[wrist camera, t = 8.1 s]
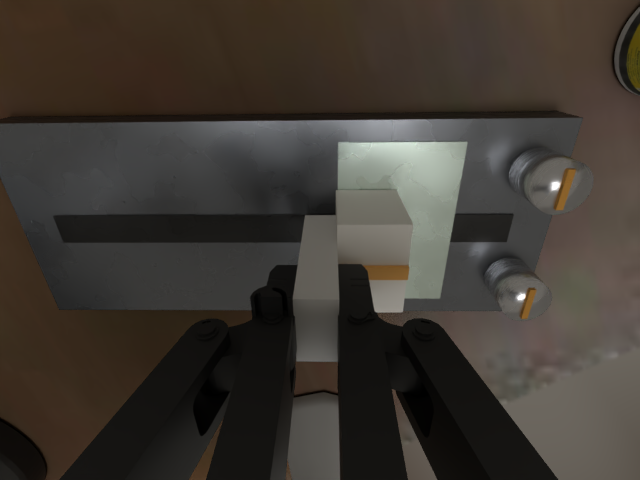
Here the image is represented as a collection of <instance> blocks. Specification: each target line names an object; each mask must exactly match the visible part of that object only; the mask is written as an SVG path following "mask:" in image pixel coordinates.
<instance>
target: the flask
mask: <svg viewBox="0 0 640 480" xmlns="http://www.w3.org/2000/svg"><path fill="white" fill-rule="evenodd" d="M287 459H288V463H289V467H290V472H291V477H292V480H340V453H339V408H338V396H337V395H333V394H329V393H325V392H321V393H316V394H311V395H306V396H301V397H296V398H293V408H292V418H291V428H290V438H289V447H288V457H287Z"/></svg>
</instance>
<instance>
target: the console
mask: <svg viewBox="0 0 640 480" xmlns="http://www.w3.org/2000/svg"><path fill="white" fill-rule="evenodd" d="M582 119H583V118H582V117H578V116H575V115H571V114H567V113H563V112H559V111H522V112H428V113H335V114H241V115H148V116H54V117H7V118H3V119H0V178H1V180H2V182H3V185H4V187H5V189H6V191H7V194H8V196H9V198H10V200H11V203H12V205H13V207H14V209H15V212H16V214H17V216H18V218H19V221H20V223H21V225H22V227H23V230H24V232H25V234H26V236H27V238H28V241H29V243H30V245H31V247H32V250H33V252H34V254H35V256H36V259H37V261H38V263H39V265H40V268H41V270H42V272H43V274H44V277H45V279H46V281H47V283H48V286H49V288H50V290H51V292H52V295H53V297H54V299H55V301H56V303H57V306H58V308H59V310H252V309H251V301H250V296H251V295H252V293H253V292H254V291H255V290H257V289H258V288H261V287H264V286H266V285H267V281H268V277H269V274H270V271H271V270H272V269H273V268H274V267H275V266H276V265H298V260H299V253H300V246H301V240H302V233H303V226H304V220H305V215H336V190H397V192H398V194H399V196H400V198H401V200H402V202H403V204H404V206H405V208H406V210H407V213H408V215H409V217H410V219H411V221H412V223H413V232H412V240H411V248H410V257H409V265H408V266H409V275H408V280H407V282H406V290H405V298H404V307H403V311H503V312H504V314H505V315H506V316H507V317H508V318H510V319H512V320H516V321H526V320H531V319H534V318H536V317H538V316H540V315H541V314H543V313H544V312H545V311H546V310H547V309H548V307H549V306H550V304H551V301H552V293H551V291H550V290H549V288H548V287H547V286H546V285H545V284H544V283H543V282H542V281H541V280H540V279H539V277H538V276H537V275H536V274H535V273H534V271H535V268H536V265H537V262H538V259H539V255H540V252H541V249H542V246H543V243H544V240H545V236H546V233H547V230H548V227H549V224H550V221H551V218H552V215H559V214H564V213H567V212H570V211H572V210H574V209H575V208H577V207H578V206H579V205H581V204H582V203H583V202H584V201H585V200H586V198H587V197H588V196H589V194H590V192H591V190H592V187H593V174H592V171H591V170H590V168H589V167H588V166H587V165H585V164H583V163H581V162H579V161H577V160H575V159H572V158H570V157H571V154H572V151H573V148H574V145H575V142H576V138H577V135H578V132H579V129H580V126H581V123H582Z"/></svg>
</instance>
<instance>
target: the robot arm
mask: <svg viewBox="0 0 640 480" xmlns="http://www.w3.org/2000/svg"><path fill="white" fill-rule="evenodd" d="M250 301H251V309H252V320H250V321H248V322H246V323H244V324H241V325H237V326H233V327H228V325H227V324H226V323H225V322H224V321H222V320H219V319H206V320H202V321H199V322H197V323H195V324H194V325H192V326H191V327H190V328H189V329H188V330H187V331H186V332H185V334H184V335H183V336H182V337H181V338H180V339H179V341H178V342H177V343H176V344H175V345H174V346H173V348H172V349H171V350H170V351H169V352H168V353H167V355H166V356H165V357H164V358H163V359H162V360H161V362H160V363H159V364H158V365H157V366H156V367H155V369H154V370H153V371H152V372H151V373H150V374H149V376H148V377H147V378H146V379H145V380H144V381H143V383H142V384H141V385H140V386H139V387H138V388H137V390H136V391H135V392H134V393H133V394H132V395H131V397H130V398H129V399H128V400H127V401H126V402H125V404H124V405H123V406H122V407H121V408H120V409H119V411H118V412H117V413H116V414H115V415H114V416H113V418H112V419H111V420H110V421H109V422H108V423H107V425H106V426H105V427H104V428H103V429H102V431H101V432H100V433H99V434H98V435H97V436H96V438H95V439H94V440H93V441H92V442H91V443H90V445H89V446H88V447H87V448H86V449H85V450H84V452H83V453H82V454H81V455H80V456H79V457H78V459H77V460H76V461H75V462H74V463H73V464H72V466H71V467H70V468H69V469H68V470H67V471H66V473H65V474H64V475H63V476H62V477H61V478H60V480H189V478H190V476H191V475H192V473H193V471H194V469H195V467H196V466H197V464H198V462H199V460H200V458H201V457H202V455H203V453H204V451H205V449H206V448H207V446H208V444H209V442H210V441H211V439H212V437H213V435H214V433H215V432H216V430H217V428H218V426H219V424H220V423H221V421H222V419H223V417H224V419H223V422H222V426H221V429H220V433H219V436H218V440H217V443H216V447H215V450H214V454H213V457H212V461H211V464H210V468H209V471H208V475H207V478H206V480H285V477H286V467H287V457H288V447H289V438H290V428H291V418H292V408H293V398H294V388H295V378H296V367H295V361H316V362H338V408H339V453H340V480H408V478H407V472H406V467H405V461H404V456H403V450H402V444H401V439H400V433H399V428H398V422H397V417H396V411H395V405H394V400H393V394H392V389H394V390H396V394H397V396H398V398H399V400H400V403H401V405H402V407H403V409H404V411H405V413H406V415H407V417H408V419H409V421H410V423H411V425H412V428H413V430H414V432H415V434H416V436H417V438H418V440H419V442H420V444H421V446H422V448H423V451H424V453H425V455H426V457H427V459H428V461H429V463H430V465H431V467H432V469H433V471H434V473H435V476H436V478H437V480H558V479H557V477H556V476H555V475H554V473H553V472H552V471H551V469H550V468H549V467H548V466H547V464H546V463H545V462H544V460H543V459H542V458H541V456H540V455H539V454H538V453H537V451H536V450H535V448H534V447H533V446H532V445H531V443H530V442H529V441H528V439H527V438H526V437H525V435H524V434H523V433H522V431H521V430H520V429H519V427H518V426H517V425H516V424H515V422H514V421H513V420H512V418H511V417H510V416H509V414H508V413H507V412H506V410H505V409H504V408H503V406H502V405H501V404H500V403H499V401H498V400H497V399H496V397H495V396H494V395H493V393H492V392H491V391H490V389H489V388H488V387H487V385H486V384H485V383H484V382H483V380H482V379H481V378H480V376H479V375H478V374H477V372H476V371H475V370H474V368H473V367H472V366H471V364H470V363H469V362H468V361H467V359H466V358H465V357H464V355H463V354H462V353H461V351H460V350H459V349H458V347H457V346H456V345H455V343H454V342H453V341H452V340H451V338H450V337H449V336H448V334H447V333H446V332H445V330H444V329H443V328H442V327H441V326H440V325H439V324H437V323H435V322H433V321H431V320H427V319H423V318H418V319H412V320H409V321H407V322H406V323H405V324H404V325H403V327H401V326H397V325H393V324H390V323H387V322H385V321H383V320H382V319H381V318H379V317H378V315H377V313H376V312H375V310H374V306H373V300H372V294H371V288H370V282H369V277H368V271H367V270H366V269H365V268H364V266H363V265H362V264H338V253H337V227H336V215H305V220H304V226H303V233H302V240H301V246H300V253H299V260H298V265H276V266H275V267H274V268H273V269H272V270H271V271H270V274H269V277H268V281H267V285H266V286H264V287H261V288H258V289H257V290H255V291H254V292H253V293H252V295H251V296H250ZM45 477H46V468H45V464H44V461H43V459H42V457H41V455H40V454H39V452H38V451H37V450H36V449H35V447H34V446H33V445H32V444H31V443H30V442H29V441H28V440H27V439H26V438H24V437H23V436H22V435H21V434H19V433H18V432H17V431H15V430H14V429H12V428H11V427H9V426H8V425H6V424H4V423H3V422H1V421H0V480H45Z"/></svg>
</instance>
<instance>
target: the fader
mask: <svg viewBox="0 0 640 480" xmlns="http://www.w3.org/2000/svg"><path fill="white" fill-rule="evenodd" d="M336 227H337V253H338V264H362V265H363V266H364V268H365V269H366V270H367V271H368V277H369V282H370V288H371V294H372V300H373V306H374V310H375V312H403V307H404V298H405V290H406V282H407V280H408V275H409V266H408V265H409V257H410V248H411V240H412V232H413V223H412V221H411V219H410V217H409V215H408V213H407V210H406V208H405V206H404V204H403V202H402V200H401V198H400V196H399V194H398V192H397V190H336Z"/></svg>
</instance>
